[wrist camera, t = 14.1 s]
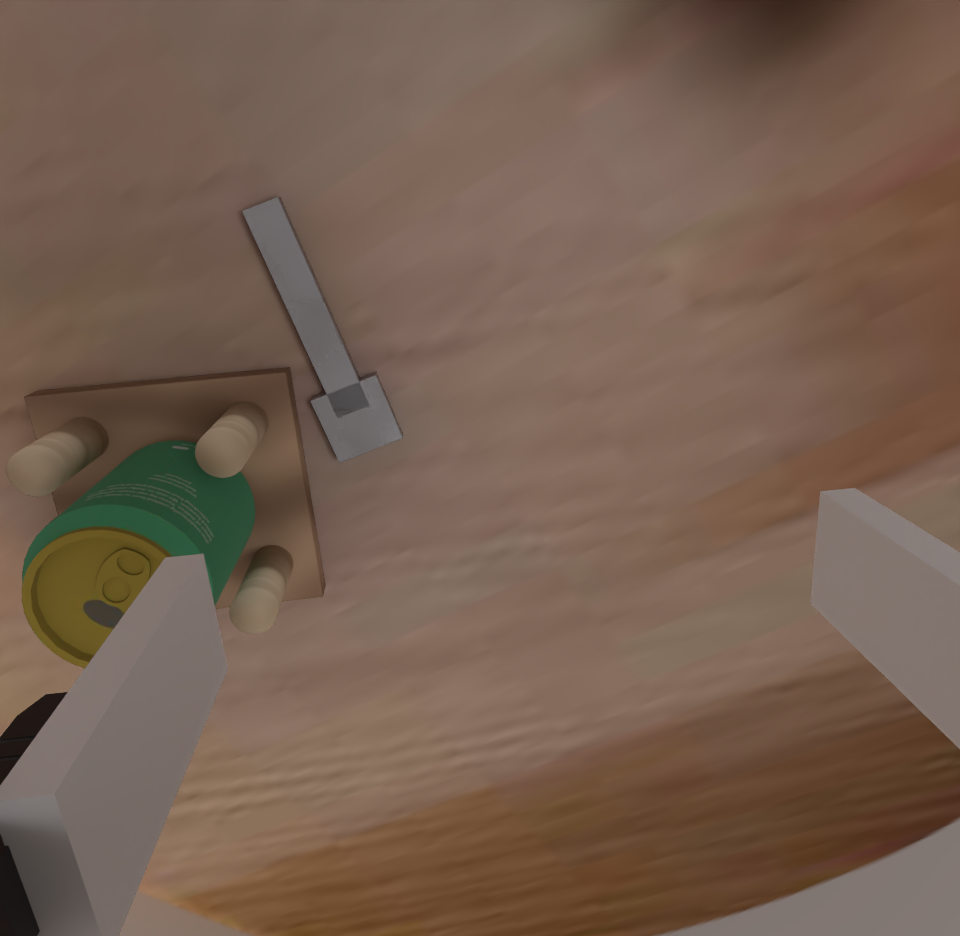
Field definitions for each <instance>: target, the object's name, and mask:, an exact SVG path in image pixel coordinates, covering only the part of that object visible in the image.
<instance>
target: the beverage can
mask: <svg viewBox="0 0 960 936" xmlns="http://www.w3.org/2000/svg"><path fill="white" fill-rule="evenodd" d="M196 445H197V443H194V442H188V441H163V442H157V443H154V444H151V445H147V446H145V447H143V448H141V449H139V450H137V451H136V452H134V453H133V454H132V455H130V456H129V457H127V458H126V459H125V460H124V461H123V462H122V463H120V464H119V465H118V466H117V467H116V468H114V469H113V470H112V471H111V472H110V473H108V474H107V475H106V476H105V477H104V478H103V479H101V480H100V481H99V482H98V483H97V484H95V485H94V486H93V487H92V488H91V489H89V490H88V491H87V492H86V493H85V494H84V495H82V496H81V497H80V498H79V499H78V500H76V501H75V502H74V503H73V504H72V505H70V506H69V507H68V508H67V509H66V510H65V511H63V512H62V513H61V514H60V515H59V516H57V517H56V518H55V519H54V520H53V521H51V522H50V523H49V524H48V525H47V526H46V527H45V528H44V529H43V530H42V531H41V532H40V533H39V534H38V535H37V536H36V538H35V539H34V541H33V542H32V544H31V546H30V547H29V550H28V552H27V555H26V557H25V560H24V566H23V571H22V585H23V586H22V603H23V608H24V613H25V615H26V618H27V620H28V623H29V625H30V626H31V628H32V630H33V631H34V633H35V634H36V635H37V637H38V638H39V639H40V640H41V642H42V643H43V644H44V645H45V646H47V647H48V648H49V649H50V650H51V651H52V652H54V653H55V654H56V655H58V656H59V657H61V658H62V659H64V660H66V661H68V662H70V663H72V664H74V665H77V666H79V667H82V668H86V666H87V665H88V664H89V662H90V661H91V660H92V658H93V657H94V655H95V654H96V653H97V651H98V650H99V648H100V647H101V646H102V644H103V643H104V642H105V640H106V639H107V637H108V636H109V635H110V633H111V632H112V631H113V629H114V628H115V626H116V625H117V624H118V622H119V621H120V619H121V618H122V617H123V615H124V614H125V613H126V611H127V610H128V608H129V607H130V606H131V604H132V603H133V602H134V600H135V599H136V597H137V596H138V595H139V593H140V592H141V590H142V589H143V588H144V586H145V585H146V584H147V582H148V581H149V579H150V578H151V577H152V575H153V574H154V573H155V571H156V570H157V568H158V567H159V566H160V564H161V563H162V561H163V560H164V559H165V557H175V556H185V555H195V554H204V559H205V563H206V568H207V573H208V577H209V582H210V586H211V591H212V596H213V600H214V605H216V603H217V601H218V599H219V597H220V595H221V593H222V591H223V589H224V587H225V585H226V583H227V581H228V579H229V577H230V575H231V573H232V571H233V569H234V567H235V565H236V563H237V561H238V559H239V557H240V555H241V553H242V551H243V549H244V547H245V545H246V543H247V541H248V539H249V537H250V535H251V533H252V529H253V526H254V522H255V502H254V498H253V494H252V491H251V489H250V487H249V484H248V482H247V480H246V479H245V477H244V476H243V474H242V473H241V472H240V471H239V472H238V473H237V474H235V475H233V476H231V477H227V478H219V477H214V476H212V475H209V474H208V473H206V472H205V471H204V470H203V469H202V468H201V467H200V466H199V464H198V463H197V460H196V457H195V448H196Z"/></svg>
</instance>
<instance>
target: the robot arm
mask: <svg viewBox="0 0 960 936" xmlns="http://www.w3.org/2000/svg"><path fill="white" fill-rule="evenodd" d="M810 604H811V605H812V606H813V607H814V608H815V609H816V610H817V611H818V612H819V613H821V614H822V615H823V616H824V617H825V618H826V619H827V620H828V621H829V622H830V623H831V624H832V625H833V626H834V627H835V628H836V629H837V630H838V631H839V632H840V633H841V634H842V635H843V636H844V637H845V638H846V639H847V640H848V641H849V642H850V643H851V644H852V645H853V646H854V647H855V648H856V649H858V650H859V651H860V652H861V653H862V654H863V655H864V656H865V657H866V658H867V659H868V660H869V661H870V662H871V663H872V664H873V665H874V666H875V667H876V668H877V669H878V670H879V671H880V672H881V673H882V674H883V675H884V676H885V677H886V678H887V679H888V680H889V681H890V682H891V683H892V684H894V685H895V686H896V687H897V688H898V689H899V690H900V691H901V692H902V693H903V694H904V695H905V696H906V697H907V698H908V699H909V700H910V701H911V702H912V703H913V704H914V705H915V706H916V707H917V708H918V709H919V710H920V711H921V712H922V713H923V714H924V715H925V716H926V717H927V718H928V719H929V720H931V721H932V722H933V723H934V724H935V725H936V726H937V727H938V728H939V729H940V730H941V731H942V732H943V733H944V734H945V735H946V736H947V737H948V738H949V739H950V740H951V741H952V742H953V743H954V744H955V745H956V746H957V747H958V748H959V749H960V552H958V551H956V550H955V549H953V548H951V547H950V546H948V545H947V544H945V543H943V542H942V541H940V540H938V539H937V538H935V537H934V536H932V535H930V534H929V533H927V532H925V531H924V530H922V529H921V528H919V527H917V526H916V525H914V524H912V523H911V522H909V521H908V520H906V519H904V518H903V517H901V516H899V515H898V514H896V513H894V512H893V511H891V510H890V509H888V508H886V507H885V506H883V505H881V504H880V503H878V502H877V501H875V500H873V499H872V498H870V497H868V496H867V495H865V494H864V493H862V492H860V491H859V490H857V489H855V488H850V489H840V490H830V491H821V492H820V503H819V514H818V525H817V536H816V547H815V559H814V570H813V581H812V592H811V603H810ZM227 669H228V665H227V660H226V656H225V651H224V646H223V642H222V637H221V633H220V628H219V623H218V619H217V614H216V610H215V605H214V600H213V596H212V591H211V586H210V582H209V577H208V573H207V568H206V563H205V559H204V554H195V555H185V556H175V557H165V559H164V560H163V561H162V563H161V564H160V566H159V567H158V568H157V570H156V571H155V573H154V574H153V575H152V577H151V578H150V579H149V581H148V582H147V584H146V585H145V586H144V588H143V589H142V590H141V592H140V593H139V595H138V596H137V597H136V599H135V600H134V602H133V603H132V604H131V606H130V607H129V608H128V610H127V611H126V613H125V614H124V615H123V617H122V618H121V619H120V621H119V622H118V624H117V625H116V626H115V628H114V629H113V631H112V632H111V633H110V635H109V636H108V637H107V639H106V640H105V642H104V643H103V644H102V646H101V647H100V648H99V650H98V651H97V653H96V654H95V655H94V657H93V658H92V660H91V661H90V662H89V664H88V665H87V666H86V668H85V669H84V671H83V672H82V673H81V675H80V676H79V677H78V679H77V680H76V682H75V683H74V684H73V686H72V687H71V689H70V690H69V691H68V692H64V693H55V694H46V695H45V696H43V697H42V698H40V699H39V700H38V701H36V702H35V703H34V704H32V705H31V706H30V707H28V708H27V709H26V710H24V711H23V712H22V713H20V714H19V715H18V716H17V717H16V718H15V719H14V720H13V722H12V723H11V724H10V726H9V727H8V728H7V729H6V731H5V732H4V733H3V734H2V736H1V737H0V936H119V934H120V932H121V929H122V927H123V924H124V922H125V919H126V917H127V914H128V912H129V909H130V907H131V905H132V902H133V900H134V897H135V895H136V892H137V890H138V887H139V885H140V883H141V880H142V878H143V875H144V873H145V870H146V868H147V865H148V863H149V861H150V858H151V856H152V853H153V851H154V848H155V846H156V843H157V841H158V838H159V836H160V834H161V831H162V829H163V826H164V824H165V821H166V819H167V816H168V814H169V812H170V809H171V807H172V804H173V802H174V799H175V797H176V794H177V792H178V789H179V787H180V785H181V782H182V780H183V777H184V775H185V772H186V770H187V767H188V765H189V763H190V760H191V758H192V755H193V753H194V750H195V748H196V745H197V743H198V740H199V738H200V736H201V733H202V731H203V728H204V726H205V723H206V721H207V718H208V716H209V714H210V711H211V709H212V706H213V704H214V701H215V699H216V696H217V694H218V691H219V689H220V687H221V684H222V682H223V679H224V677H225V674H226V672H227Z"/></svg>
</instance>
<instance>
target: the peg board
mask: <svg viewBox="0 0 960 936" xmlns="http://www.w3.org/2000/svg"><path fill="white" fill-rule="evenodd" d="M24 398H25V401H26V405H27V408H28V412H29V415H30V419H31V422H32V426H33V429H34V433H35V436H36V440H37V441H35V442H33V443H32V444H30V445H28V446H27V447H25V448H23V449H21V450H20V451H18V452H16V453H15V454H14V455H12V456H11V458H10V459H9V461H8V463H7V476H8V478H9V480H10V482H11V484H12V485H13V486H14V487H15V488H16V489H17V490H19V491H20V492H22V493H24V494H26V495H29V496H34V497H41V496H46V495H48V494H50V493H52V495H53V499H54V502H55V506H56V509H57V513H58V516H59V515H60V514H61V513H62V512H63V511H65V510H66V509H67V508H68V507H69V506H70V505H72V504H73V503H74V502H75V501H76V500H78V499H79V498H80V497H81V496H82V495H84V494H85V493H86V492H87V491H88V490H89V489H91V488H92V487H93V486H94V485H95V484H97V483H98V482H99V481H100V480H101V479H103V478H104V477H105V476H106V475H107V474H108V473H110V472H111V471H112V470H113V469H114V468H116V467H117V466H118V465H119V464H120V463H122V462H123V461H124V460H125V459H126V458H127V457H129V456H130V455H132V454H133V453H134V452H136V451H137V450H139V449H141V448H143V447H145V446H147V445H151V444H154V443H157V442H163V441H188V442H194V443H197V445H196V448H195V457H196V460H197V463H198V464H199V466H200V467H201V468H202V469H203V470H204V471H205V472H206V473H208V474H209V475H212V476H214V477H219V478H227V477H231V476H233V475H235V474H237V473H238V472H239V471H240V472H241V473H242V474H243V476H244V477H245V479H246V480H247V482H248V484H249V487H250V489H251V491H252V494H253V498H254V502H255V522H254V526H253V529H252V533H251V535H250V537H249V539H248V541H247V543H246V545H245V547H244V549H243V551H242V553H241V555H240V557H239V559H238V561H237V563H236V565H235V567H234V569H233V571H232V573H231V575H230V577H229V579H228V581H227V583H226V585H225V587H224V589H223V591H222V593H221V595H220V597H219V599H218V601H217V603H216V605H215V609H218V608H227V607H230V611H229V614H230V619H231V621H232V623H233V624H234V625H235V627H237V628H238V629H239V630H241V631H243V632H245V633H250V634H258V633H262V632H265V631H267V630H268V629H270V628H271V627H272V626H273V624H274V622H275V620H276V617H277V614H278V611H279V608H280V605H281V602H282V601H289V600H298V599H306V598H315V597H323V594H324V589H325V579H324V573H323V567H322V561H321V555H320V549H319V543H318V537H317V530H316V524H315V518H314V512H313V506H312V500H311V494H310V488H309V482H308V476H307V469H306V463H305V457H304V451H303V445H302V439H301V433H300V427H299V421H298V414H297V408H296V402H295V396H294V390H293V384H292V378H291V372H290V367H288V368H277V369H267V370H256V371H245V372H234V373H224V374H213V375H202V376H192V377H181V378H170V379H159V380H149V381H138V382H127V383H117V384H106V385H95V386H84V387H74V388H63V389H52V390H42V391H36V392H34V393H32V394H30V395H27V396H25V397H24Z"/></svg>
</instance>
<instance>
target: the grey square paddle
mask: <svg viewBox="0 0 960 936" xmlns="http://www.w3.org/2000/svg"><path fill="white" fill-rule="evenodd" d="M242 212H243V215H244V217H245V219H246V221H247V223H248V225H249V228H250V230H251V232H252V234H253V236H254V238H255V241H256V243H257V245H258V247H259V249H260V251H261V254H262V256H263V258H264V260H265V262H266V264H267V267H268V269H269V271H270V273H271V275H272V277H273V280H274V282H275V284H276V286H277V288H278V290H279V293H280V295H281V297H282V299H283V301H284V303H285V305H286V308H287V310H288V312H289V314H290V316H291V318H292V321H293V323H294V325H295V327H296V329H297V331H298V334H299V336H300V338H301V340H302V342H303V344H304V347H305V349H306V351H307V353H308V355H309V357H310V360H311V362H312V364H313V366H314V368H315V370H316V373H317V375H318V377H319V379H320V381H321V383H322V386H323V388H324V390H325V392H324V393H321V394H319V395H316V396H314V397H312V399H311V403H312V406H313V408H314V410H315V412H316V414H317V416H318V418H319V420H320V423H321V425H322V427H323V429H324V431H325V433H326V435H327V437H328V440H329V442H330V444H331V446H332V448H333V450H334V452H335V454H336V457H337V459H338V461H339V463H340V462H343V461H345V460H348V459H350V458H353V457H356V456H358V455H361V454H363V453H366V452H368V451H371V450H373V449H376V448H379V447H381V446H384V445H386V444H389V443H391V442H394V441H396V440H399V439H402V438H403V433H402V430H401V428H400V426H399V423H398V421H397V419H396V416H395V414H394V412H393V409H392V407H391V405H390V402H389V400H388V398H387V396H386V393H385V391H384V389H383V386H382V384H381V382H380V379H379V377H378V375H377V372H375V373H372V374H369V375H367V376H364V377H362V378H360V376H359V374H358V372H357V370H356V367H355V365H354V363H353V360H352V358H351V356H350V354H349V351H348V349H347V347H346V345H345V342H344V340H343V338H342V336H341V333H340V331H339V329H338V327H337V324H336V322H335V320H334V317H333V315H332V313H331V311H330V308H329V306H328V304H327V302H326V299H325V297H324V295H323V293H322V290H321V288H320V286H319V283H318V281H317V279H316V277H315V274H314V272H313V270H312V268H311V265H310V263H309V261H308V259H307V256H306V254H305V252H304V249H303V247H302V245H301V243H300V240H299V238H298V236H297V234H296V231H295V229H294V227H293V225H292V222H291V220H290V218H289V215H288V213H287V211H286V209H285V206H284V204H283V202H282V200H281V198H280V197H276V198H274V199H271V200H269V201H266V202H264V203H261V204H259V205H256V206H254V207H251V208H249V209H246V210H244V211H242Z"/></svg>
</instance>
